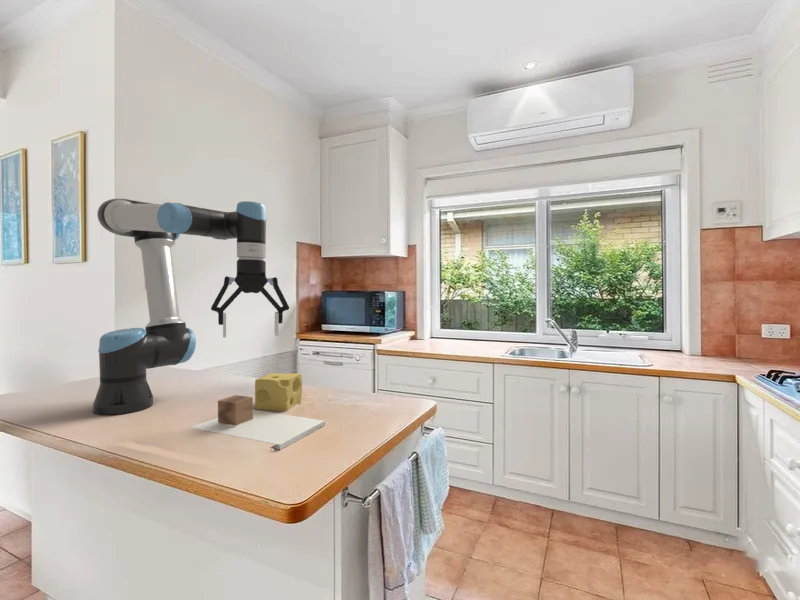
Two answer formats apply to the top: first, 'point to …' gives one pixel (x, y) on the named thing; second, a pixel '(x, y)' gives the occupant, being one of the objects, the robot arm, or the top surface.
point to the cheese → (278, 391)
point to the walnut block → (235, 410)
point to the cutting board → (267, 428)
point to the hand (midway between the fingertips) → (251, 336)
